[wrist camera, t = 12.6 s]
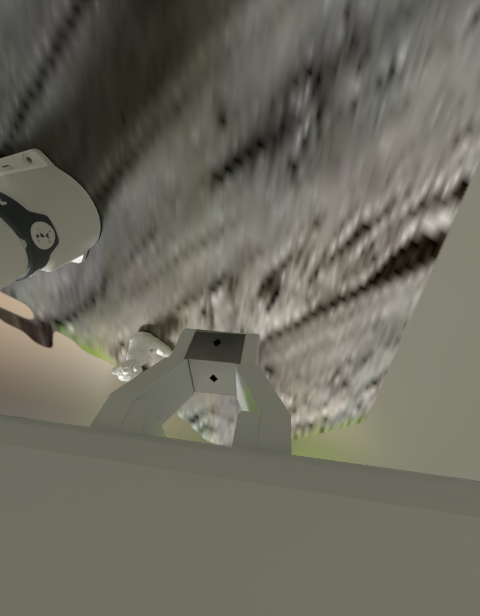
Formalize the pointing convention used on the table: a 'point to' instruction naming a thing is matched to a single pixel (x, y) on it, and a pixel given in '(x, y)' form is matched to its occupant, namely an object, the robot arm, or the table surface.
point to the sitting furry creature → (140, 354)
